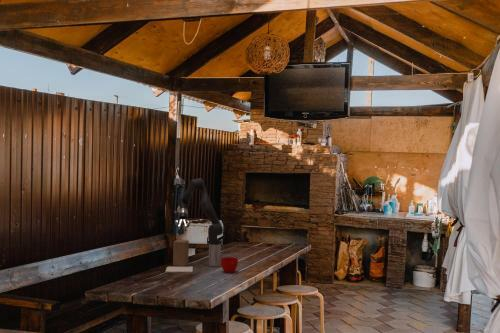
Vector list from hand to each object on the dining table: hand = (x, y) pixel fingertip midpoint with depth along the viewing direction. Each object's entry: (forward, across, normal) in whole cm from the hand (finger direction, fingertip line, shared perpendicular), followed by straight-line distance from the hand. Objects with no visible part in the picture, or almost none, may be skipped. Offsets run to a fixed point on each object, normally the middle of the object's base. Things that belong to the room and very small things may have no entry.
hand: (182, 230), depth 424 cm
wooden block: (+31, 0, +6) cm, 31 cm away
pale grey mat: (+42, 0, -5) cm, 42 cm away
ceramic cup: (+50, +38, -13) cm, 64 cm away
